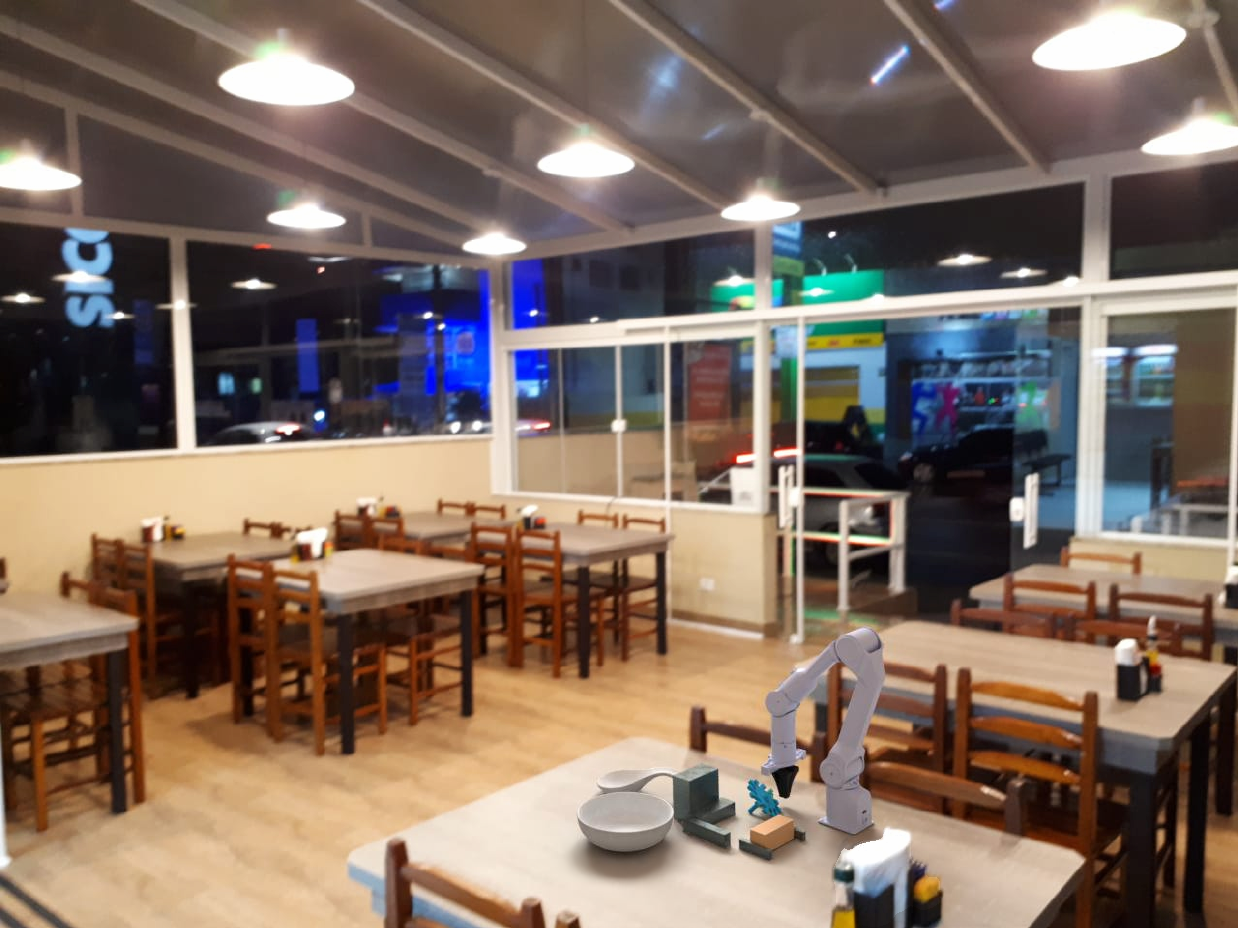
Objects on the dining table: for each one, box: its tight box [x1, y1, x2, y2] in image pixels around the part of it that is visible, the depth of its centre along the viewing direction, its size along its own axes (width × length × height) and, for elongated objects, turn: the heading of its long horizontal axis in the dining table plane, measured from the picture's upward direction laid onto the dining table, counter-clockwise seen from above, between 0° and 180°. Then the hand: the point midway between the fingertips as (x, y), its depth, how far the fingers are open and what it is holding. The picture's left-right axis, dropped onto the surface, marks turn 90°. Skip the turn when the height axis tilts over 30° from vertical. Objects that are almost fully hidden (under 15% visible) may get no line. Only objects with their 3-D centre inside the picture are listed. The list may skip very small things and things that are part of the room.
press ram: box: [749, 814, 795, 851], centre depth 202 cm, size 4×10×4 cm, turn 134°
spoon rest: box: [596, 766, 681, 794], centre depth 230 cm, size 24×12×7 cm, turn 72°
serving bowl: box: [576, 792, 674, 852], centre depth 206 cm, size 21×21×7 cm
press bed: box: [672, 762, 807, 862], centre depth 208 cm, size 28×15×10 cm, turn 44°
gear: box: [746, 779, 782, 819], centre depth 218 cm, size 11×6×10 cm
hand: (784, 796), depth 222 cm, fingers closed
